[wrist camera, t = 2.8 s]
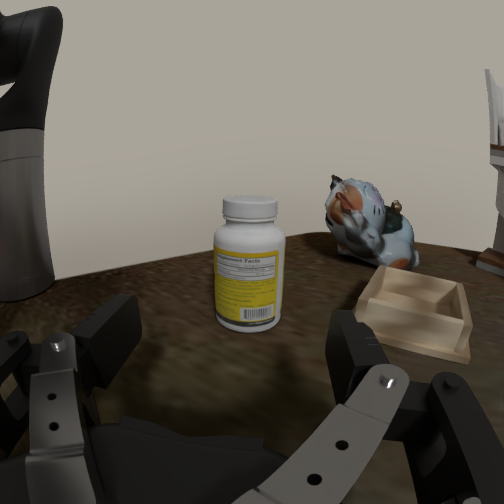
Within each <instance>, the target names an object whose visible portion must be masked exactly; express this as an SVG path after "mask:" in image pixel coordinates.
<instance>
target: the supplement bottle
mask: <svg viewBox="0 0 504 504" xmlns="http://www.w3.org/2000/svg"><path fill="white" fill-rule="evenodd" d="M277 202H278V201H277V199H275V198H271V197H265V196H229V197H225V198H224V199H223V214H224V215H223V218H224V219H226V224H225V225H223V226H221V227H220V228H218V229H217V231H216V232H215V235H214V281H215V310H216V317H217V319H218V321H219V322H220V323H221V324H222V325H223V326H225V327H226V328H228V329H231V330H234V331H238V332H245V333H254V332H261V331H265V330H267V329H269V328H271V327H273V326H274V325H276V324H277V322H278V321H279V319H280V315H281V306H282V292H283V276H284V260H285V235H284V233H283V231H282V230H281V229H280V228H278V227H277V226H274V220H275V219H276V218H277V216H276V215H277Z"/></svg>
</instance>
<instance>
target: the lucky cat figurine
mask: <svg viewBox="0 0 504 504" xmlns="http://www.w3.org/2000/svg"><path fill="white" fill-rule="evenodd" d="M330 188H331V193H330V195H329V197H328V199H327V200H326V203H325V206H326V210H327V213H326V219H325V220H326V224H327V226H328V228H329V229H330V231H331V233H332V234H333V236H334V238H335V240H336V241H337V242H338V254H340V255H347V256H353V257H356V258H358V259H361V260H363V261H366V262H368V263H371V264H374V265H376V266H380V265H383V266H387V267H391V268H396V269H400V270H405V271H409V270H410V269H411V268H412V267H417V266H418V264H419V263H420V262H419V254H418V251H417V250H416V249H415V248H414V233H413V228H412V226H411V225H410V223H409V221H408V220H407V219H406V218H405V217H404V216H403V215H401V214H400V211H401V209H402V206H401V204H400V203H399V202H398V200H395V201H394V202H392V205H391V207H389V206H385V205H384V201H383V199H382V197H381V195H380V193H379V192H378V190H377V188H376V187H374V186H373V184H371V183H369V182H363V181H360V180H359V181H358V180H354V179H352V178H351V179H347V180H344V181H343V180H342V179H340V178H339V177H337V176H335V175H332V183H331V185H330Z"/></svg>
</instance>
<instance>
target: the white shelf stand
mask: <svg viewBox="0 0 504 504" xmlns="http://www.w3.org/2000/svg"><path fill="white" fill-rule="evenodd" d="M485 75H486V82H487V91H488V101H489V115H490V164H491V165H492V166H494V167H495V168H496V169H497V170H498V185H497V196H496V207H497V210H498V211H499V215H498V222H497V228H496V234H495V240H494V244H493V249H492V248H487V249H486V250H485V251H483V252H482V253H481V254H479V255H478V258H477V263H476V267H478V268H481V269H483V270H486V271H489V272H491V273H494V274H497V275H499V276H502V277H504V89H503V88H501V87H500V86H498V85H497V84H496V83H495V81H494V79H493V77H492V75H491V73H490V71H489V70H488V69H485Z"/></svg>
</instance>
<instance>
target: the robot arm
mask: <svg viewBox="0 0 504 504" xmlns="http://www.w3.org/2000/svg"><path fill="white" fill-rule="evenodd" d="M62 29H63V18H62V14H61V12H60V10H59V9H58V8H57V7H54V6H48V7H42V8H38V9H34V10H29V11H25V12H22V13H18V14H14V15H11V16H4V15H2V14H1V12H0V86H1V85H5V84H10V83H14V82H15V83H14V84H13V86H12V87H11V88H10V89H9V90H8V91H7V92H6V93H5V94H4V95H3V96H2V97H1V98H0V301H16V300H21V299H25V298H28V297H31V296H34V295H36V294H38V293H40V292H42V291H44V290H45V289H47V288H48V287H49V286H51V285H52V284H53V282H54V280H55V276H54V270H53V265H52V259H51V253H50V246H49V237H48V230H47V220H46V210H45V195H44V158H43V155H44V153H43V152H44V128H45V116H46V110H47V104H48V97H49V89H50V84H51V79H52V74H53V70H54V65H55V61H56V57H57V54H58V50H59V46H60V42H61V36H62ZM141 335H142V325H141V319H140V313H139V306H138V300H137V297H136V296H135V295H129V294H121V293H119V294H117V295H116V296H115V297H114V298H113V299H111V300H110V301H109V302H108V303H106V304H104V305H102V306H100V307H98V308H97V309H96V310H95V311H93V312H92V313H91V315H89V316H88V317H87V318H86V320H84V321H83V322H81V323H80V324H79V325H78V326H77V327H76V328H75V329H74V330H73V331H72V332H71V333H70V334H68V333H56V334H53V335H50V336H48V337H47V338H46V339H45V340H44V341H43V342H42V344H30V342H29V339H28V336H27V334H26V333H25V332H23V331H13V332H10V333H7V334H6V335H4V336H3V337H2V338H1V339H0V386H1V384H2V383H3V382H4V381H5V380H6V378H7V377H8V376H9V375H10V374H11V373H12V374H13V376H14V378H15V380H16V382H17V384H18V386H17V387H16V388H15V389H14V391H13V392H12V393H11V394H10V395H9V397H8V398H7V399H6V400H5V402H4V400H3V399H2V397H1V395H0V504H342V503H341V501H342V499H343V498H344V497H345V495H346V494H347V493H348V491H349V490H350V488H351V487H352V486H353V484H354V483H355V481H356V480H357V478H358V477H359V475H360V474H361V472H362V471H363V469H364V468H365V466H366V465H367V463H368V461H369V460H370V458H371V457H372V455H373V453H374V452H375V450H376V448H377V447H378V445H379V443H380V441H381V440H382V439H383V440H391V441H400V442H403V444H404V448H405V451H406V455H407V459H408V463H409V467H410V471H411V475H412V479H413V483H414V488H415V492H416V497H417V502H418V504H504V449H503V447H502V445H501V443H500V441H499V439H498V437H497V435H496V433H495V431H494V430H493V428H492V426H491V424H490V422H489V420H488V418H487V417H486V415H485V413H484V411H483V409H482V408H481V406H480V404H479V402H478V401H477V399H476V397H475V396H474V394H473V392H472V391H471V389H470V387H469V386H468V384H467V382H466V381H465V380H464V379H463V378H462V377H461V376H459V375H457V374H455V373H451V372H441V373H438V374H436V375H435V376H434V378H433V380H432V382H431V384H428V383H420V382H413V381H409V377H408V375H407V373H406V372H405V371H404V370H402V369H401V368H399V367H397V366H394V365H390V363H389V361H388V359H387V357H386V355H385V353H384V351H383V349H382V347H381V345H379V341H378V340H377V338H376V336H375V334H374V332H373V330H372V329H371V328H370V327H369V326H368V325H366V324H365V323H364V322H357V320H356V318H355V316H354V314H353V312H352V310H333V311H332V314H331V319H330V324H329V330H328V335H327V340H326V347H325V355H326V361H327V365H328V369H329V374H330V378H331V383H332V387H333V392H334V397H335V402H336V407H335V408H334V409H333V411H332V412H331V413H330V414H329V415H328V417H327V418H326V419H325V420H324V421H323V422H322V424H321V425H320V426H319V427H318V428H317V429H316V430H315V431H314V433H313V434H312V435H311V436H310V437H309V438H308V439H307V440H306V441H305V442H304V443H303V444H302V445H301V447H300V448H299V449H298V450H297V451H296V452H295V453H294V454H293V455H292V456H291V457H290V458H289V457H287V456H285V455H283V454H281V453H278V452H276V451H273V450H270V449H266V448H263V443H264V438H256V437H243V436H232V435H219V436H201V437H187V436H183V435H181V434H178V433H176V432H174V431H171V430H169V429H167V428H165V427H162V426H160V425H158V424H156V423H153V422H149V421H145V420H141V419H137V418H133V417H129V416H126V415H123V416H122V418H121V420H120V421H119V423H118V424H117V423H114V424H101V421H100V417H99V413H98V409H97V404H96V400H95V395H94V392H93V390H92V389H93V388H94V386H97V387H101V388H104V389H107V387H108V386H109V384H110V383H111V381H112V380H113V378H114V377H115V375H116V374H117V373H118V371H119V370H120V368H121V367H122V365H123V364H124V362H125V361H126V360H127V358H128V357H129V355H130V354H131V352H132V351H133V350H134V348H135V347H136V345H137V344H138V343H139V341H140V339H141ZM28 426H29V437H30V451H29V452H26V453H23V454H20V455H17V456H14V457H11V458H8V456H9V455H10V453H11V452H12V450H13V448H14V447H15V445H16V444H17V442H18V441H19V439H20V438H21V436H22V435H23V433H24V432H25V430H26V429H27V427H28ZM7 458H8V459H7Z"/></svg>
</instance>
